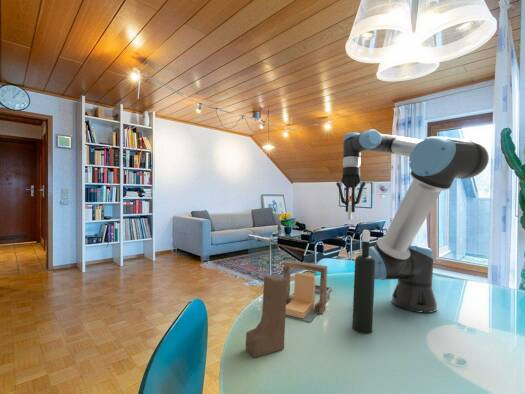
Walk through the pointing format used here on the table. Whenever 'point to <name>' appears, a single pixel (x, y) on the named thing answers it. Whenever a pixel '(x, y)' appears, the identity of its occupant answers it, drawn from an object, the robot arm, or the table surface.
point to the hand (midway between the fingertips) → (349, 219)
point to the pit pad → (317, 289)
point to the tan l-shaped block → (302, 296)
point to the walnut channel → (324, 296)
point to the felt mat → (308, 317)
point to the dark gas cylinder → (363, 288)
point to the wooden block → (270, 319)
